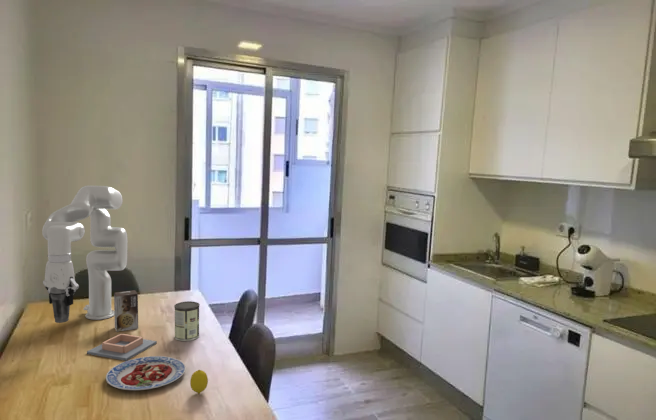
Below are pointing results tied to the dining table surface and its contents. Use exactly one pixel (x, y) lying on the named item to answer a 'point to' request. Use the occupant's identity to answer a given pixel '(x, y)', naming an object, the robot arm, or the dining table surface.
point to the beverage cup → (59, 305)
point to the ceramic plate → (145, 373)
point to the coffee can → (186, 321)
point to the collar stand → (122, 347)
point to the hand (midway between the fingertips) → (61, 303)
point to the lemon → (199, 381)
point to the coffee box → (126, 310)
